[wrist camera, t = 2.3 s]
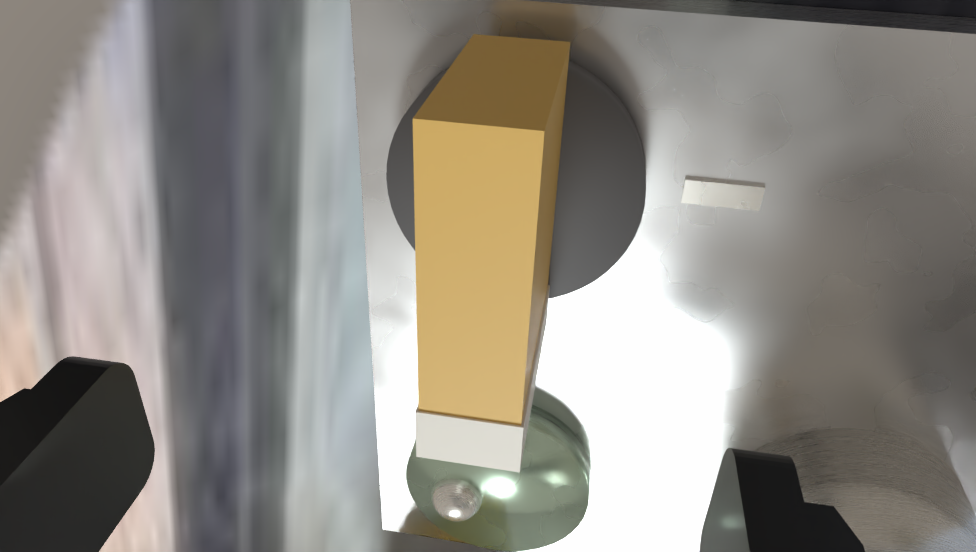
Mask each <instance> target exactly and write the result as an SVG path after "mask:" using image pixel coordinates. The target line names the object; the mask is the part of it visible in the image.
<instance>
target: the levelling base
mask: <svg viewBox="0 0 976 552" xmlns="http://www.w3.org/2000/svg"><path fill="white" fill-rule="evenodd" d="M350 4H351V21H352V37H353V53H354V70H355V86H356V102H357V119H358V135H359V151H360V168H361V184H362V200H363V217H364V233H365V249H366V265H367V282H368V298H369V314H370V331H371V347H372V363H373V380H374V396H375V412H376V429H377V445H378V461H379V478H380V494H381V510H382V527H383V529H384V530H390V531H396V532H402V533H408V534H414V535H420V536H426V537H432V538H438V539H444V540H450V541H456V542H462V543H468V544H472V545H475V546H479V547H482V548H487V549H492V550H500V551H516V552H699V551H700V540H701V533H702V528H703V524H704V520H705V517H706V513H707V510H708V507H709V503H710V500H711V496H712V493H713V489H714V486H715V482H716V479H717V475H718V472H719V469H720V465H721V462H722V458H723V455H724V453H725V451H726V450H727V449H728V448H734V449H741V450H749V451H756V452H763V453H771V454H778V455H785V456H790V457H791V458H792V460H793V461H794V464H795V467H796V470H797V474H798V478H799V482H800V486H801V490H802V494H803V498H804V502H808V503H815V504H822V505H829V506H834V507H835V508H836V510H837V511H838V512H839V514H840V515H841V516H842V518H843V519H844V520H845V522H846V523H847V524H848V526H849V527H850V528H851V530H852V531H853V532H854V534H855V535H856V536H857V538H858V539H859V540H860V541H861V543H862V544H863V546H864V549H865V552H976V18H966V17H952V16H938V15H924V14H910V13H896V12H882V11H868V10H855V9H841V8H827V7H813V6H799V5H785V4H771V3H757V2H743V1H729V0H350ZM473 34H478V35H491V36H503V37H516V38H528V39H541V40H553V41H565V42H570V52H569V61H572V62H574V63H576V64H578V65H580V66H582V67H583V68H585V69H587V70H588V71H590V72H592V73H593V74H594V75H596V76H597V77H598V78H599V79H601V80H602V81H603V82H604V83H606V84H607V85H608V86H609V87H610V88H611V90H612V91H613V92H614V93H615V94H616V95H617V96H618V97H619V98H620V100H621V101H622V102H623V104H624V105H625V107H626V108H627V109H628V111H629V113H630V115H631V117H632V118H633V120H634V122H635V124H636V126H637V129H638V132H639V135H640V138H641V140H642V145H643V150H644V155H645V168H646V197H645V207H644V211H643V215H642V220H641V223H640V225H639V228H638V230H637V233H636V235H635V237H634V239H633V241H632V242H631V244H630V246H629V248H628V249H627V251H626V252H625V253H624V254H623V256H622V257H621V258H620V260H619V261H618V262H617V263H616V264H615V265H614V266H613V267H612V268H611V269H610V270H609V271H608V272H606V273H605V274H604V275H602V276H601V277H600V278H598V279H597V280H596V281H594V282H592V283H590V284H589V285H587V286H585V287H583V288H581V289H579V290H576V291H574V292H572V293H569V294H566V295H563V296H559V297H555V298H551V299H549V302H548V312H547V323H546V329H545V334H544V340H543V346H542V351H541V357H540V362H539V368H538V374H537V379H536V385H535V390H534V396H533V401H532V407H531V413H530V418H529V424H528V429H527V435H526V441H525V446H524V452H523V457H522V463H521V469H520V472H513V471H507V470H500V469H494V468H487V467H481V466H474V465H467V464H461V463H454V462H448V461H441V460H435V459H428V458H422V457H416V419H415V412H416V409H417V406H418V361H417V311H416V261H415V250H414V249H413V248H412V246H411V245H410V243H409V242H408V241H407V239H406V238H405V236H404V235H403V233H402V231H401V229H400V227H399V225H398V224H397V221H396V219H395V216H394V214H393V211H392V208H391V204H390V200H389V196H388V190H387V181H386V172H387V159H388V153H389V148H390V145H391V142H392V139H393V136H394V133H395V131H396V129H397V127H398V125H399V123H400V121H401V119H402V118H403V116H404V115H405V113H406V112H407V110H408V109H409V107H410V106H411V105H412V103H413V102H414V101H415V99H416V98H417V97H418V96H419V94H420V93H421V92H422V91H423V89H424V88H425V87H426V86H427V85H428V84H429V83H430V82H431V81H432V80H433V79H434V78H436V77H437V76H438V75H439V74H441V73H442V72H443V71H444V70H446V69H448V68H449V67H450V66H451V65H452V63H453V62H454V61H455V59H456V58H457V56H458V55H459V54H460V52H461V51H462V50H463V48H464V47H465V45H466V44H467V43H468V41H469V40H470V39H471V37H472V36H473Z"/></svg>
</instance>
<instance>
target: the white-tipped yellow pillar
mask: <svg viewBox="0 0 976 552" xmlns="http://www.w3.org/2000/svg"><path fill="white" fill-rule="evenodd" d="M569 52H570V42H565V41H553V40H541V39H528V38H516V37H503V36H491V35H478V34H473V36H472V37H471V39H470V40H469V41H468V43H467V44H466V45H465V47H464V48H463V50H462V51H461V52H460V54H459V55H458V56H457V58H456V59H455V61H454V62H453V63H452V65H451V66H450V67H449V68H448V69H446V70H444V71H443V72H442V73H441V74H439V75H438V76H437V77H436V78H434V79H433V80H432V81H431V82H430V83H429V84H428V85H427V86H426V87H425V88H424V89H423V91H422V92H421V93H420V94H419V96H418V97H417V98H416V99H415V101H414V102H413V103H412V105H411V106H410V107H409V109H408V110H407V112H406V113H405V115H404V116H403V118H402V119H401V121H400V123H399V125H398V127H397V129H396V131H395V133H394V136H393V139H392V142H391V145H390V148H389V153H388V159H387V172H386V181H387V190H388V196H389V200H390V204H391V208H392V211H393V214H394V216H395V219H396V221H397V224H398V225H399V227H400V229H401V231H402V233H403V235H404V236H405V238H406V239H407V241H408V242H409V243H410V245H411V246H412V248H413V249H414V250H415V261H416V311H417V361H418V406H417V409H416V412H415V419H416V457H422V458H428V459H435V460H441V461H448V462H454V463H461V464H467V465H474V466H481V467H487V468H494V469H500V470H507V471H513V472H520V469H521V463H522V457H523V452H524V446H525V441H526V435H527V429H528V424H529V418H530V413H531V407H532V401H533V396H534V390H535V385H536V379H537V374H538V368H539V362H540V357H541V351H542V346H543V340H544V334H545V329H546V323H547V312H548V302H549V299H551V298H555V297H559V296H563V295H566V294H569V293H572V292H574V291H576V290H579V289H581V288H583V287H585V286H587V285H589V284H590V283H592V282H594V281H596V280H597V279H598V278H600V277H601V276H602V275H604V274H605V273H606V272H608V271H609V270H610V269H611V268H612V267H613V266H614V265H615V264H616V263H617V262H618V261H619V260H620V258H621V257H622V256H623V254H624V253H625V252H626V251H627V249H628V248H629V246H630V244H631V242H632V241H633V239H634V237H635V235H636V233H637V230H638V228H639V225H640V223H641V220H642V215H643V211H644V207H645V197H646V168H645V155H644V150H643V145H642V140H641V138H640V135H639V132H638V129H637V126H636V124H635V122H634V120H633V118H632V117H631V115H630V113H629V111H628V109H627V108H626V107H625V105H624V104H623V102H622V101H621V100H620V98H619V97H618V96H617V95H616V94H615V93H614V92H613V91H612V90H611V88H610V87H609V86H608V85H607V84H606V83H604V82H603V81H602V80H601V79H599V78H598V77H597V76H596V75H594V74H593V73H592V72H590V71H588V70H587V69H585V68H583V67H582V66H580V65H578V64H576V63H574V62H572V61H569Z"/></svg>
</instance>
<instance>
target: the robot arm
mask: <svg viewBox="0 0 976 552" xmlns="http://www.w3.org/2000/svg"><path fill="white" fill-rule="evenodd" d="M154 452H155V448H154V441H153V437H152V434H151V430H150V427H149V423H148V420H147V416H146V413H145V409H144V406H143V403H142V399H141V396H140V392H139V389H138V385H137V382H136V378H135V375H134V373H133V371H132V369H131V368H130V367H129V366H128V365H126V364H124V363H118V362H111V361H103V360H96V359H88V358H81V357H74V356H73V357H67V358H64V359H63V360H61V361H60V362H58V363H57V364H56V365H55V366H54V367H53V368H52V369H51V370H50V371H49V372H48V373H47V374H46V375H45V376H44V377H43V378H42V379H41V380H40V381H39V382H38V383H37V384H36V385H35V386H34V387H33V388H32V389H22V390H21V391H19V392H17V393H16V394H14V395H12V396H10V397H9V398H7V399H5V400H4V401H2V402H0V552H99V550H100V549H101V547H102V546H103V545H104V543H105V542H106V540H107V539H108V537H109V536H110V535H111V533H112V532H113V530H114V529H115V527H116V526H117V525H118V523H119V522H120V520H121V519H122V518H123V516H124V515H125V513H126V512H127V510H128V509H129V508H130V506H131V505H132V503H133V502H134V500H135V499H136V498H137V496H138V495H139V493H140V492H141V490H142V489H143V487H144V486H145V484H146V482H147V480H148V478H149V475H150V473H151V470H152V466H153V462H154ZM699 552H865V549H864V546H863V544H862V543H861V541H860V540H859V539H858V538H857V536H856V535H855V534H854V532H853V531H852V530H851V528H850V527H849V526H848V524H847V523H846V522H845V520H844V519H843V518H842V516H841V515H840V514H839V512H838V511H837V510H836V508H835V507H834V506H829V505H822V504H815V503H808V502H804V498H803V494H802V490H801V486H800V482H799V478H798V474H797V470H796V467H795V464H794V461H793V460H792V458H791V457H790V456H785V455H778V454H771V453H763V452H756V451H749V450H741V449H734V448H728V449H727V450H726V451H725V453H724V455H723V458H722V462H721V465H720V469H719V472H718V475H717V479H716V482H715V486H714V489H713V493H712V496H711V500H710V503H709V507H708V510H707V513H706V517H705V520H704V524H703V528H702V533H701V540H700V551H699Z"/></svg>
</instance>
